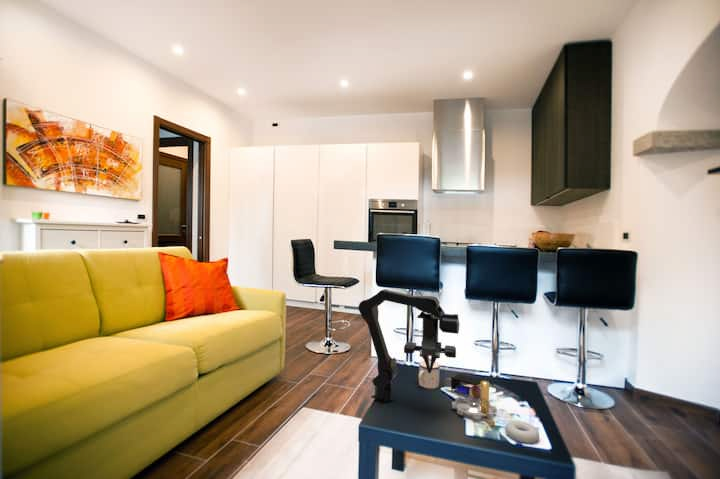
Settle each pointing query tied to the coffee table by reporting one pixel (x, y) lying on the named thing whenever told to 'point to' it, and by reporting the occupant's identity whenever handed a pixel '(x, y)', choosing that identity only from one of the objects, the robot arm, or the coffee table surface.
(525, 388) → the coffee table surface
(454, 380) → the figurine character
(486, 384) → the sprocket wheel
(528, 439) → the donut
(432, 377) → the teacup with lid
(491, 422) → the timing mark
